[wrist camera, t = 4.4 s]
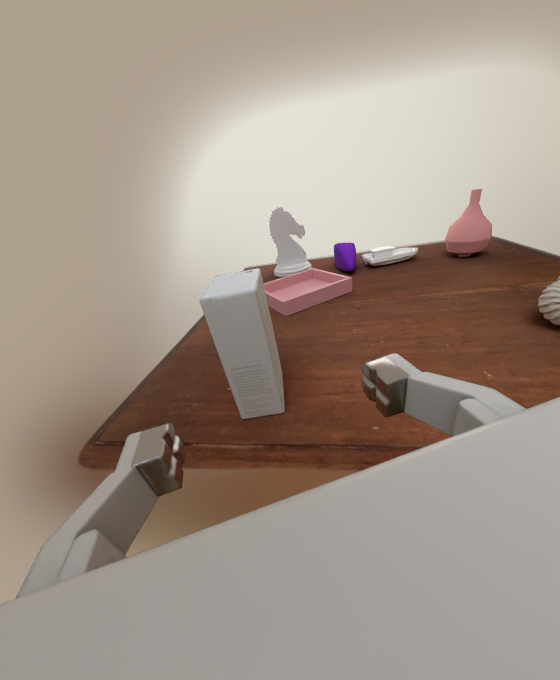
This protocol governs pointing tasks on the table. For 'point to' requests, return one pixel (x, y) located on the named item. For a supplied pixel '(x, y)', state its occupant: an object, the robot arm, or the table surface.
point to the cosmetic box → (245, 341)
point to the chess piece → (287, 244)
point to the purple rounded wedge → (345, 256)
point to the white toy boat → (388, 255)
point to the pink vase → (469, 229)
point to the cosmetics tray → (305, 290)
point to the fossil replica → (551, 302)
